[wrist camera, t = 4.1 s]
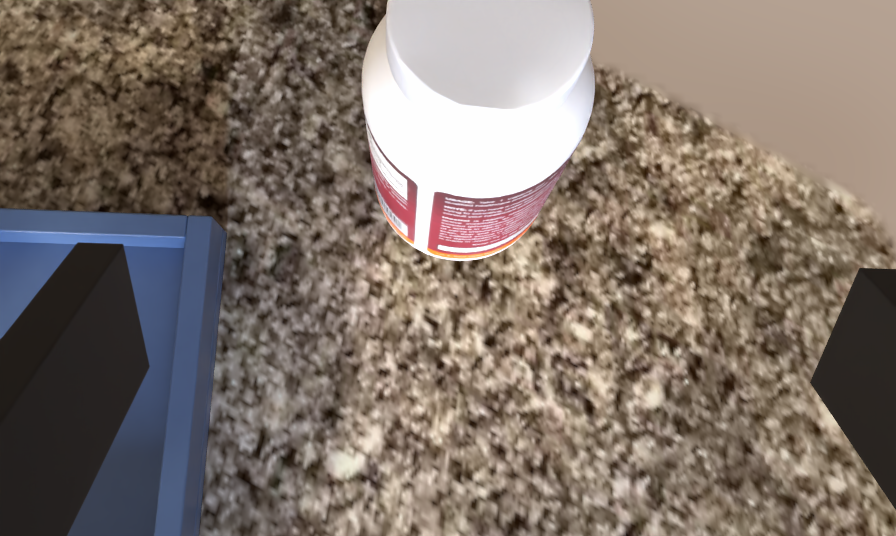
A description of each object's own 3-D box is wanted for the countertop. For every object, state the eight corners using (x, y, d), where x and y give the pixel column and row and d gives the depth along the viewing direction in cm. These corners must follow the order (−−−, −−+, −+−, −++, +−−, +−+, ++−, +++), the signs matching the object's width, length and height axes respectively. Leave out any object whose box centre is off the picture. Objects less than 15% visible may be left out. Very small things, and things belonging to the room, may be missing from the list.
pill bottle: (566, 145, 27) (672, -40, 16) (503, 292, 26) (573, 196, 15) (416, 79, 27) (423, -145, 17) (345, 222, 26) (303, 78, 15)
